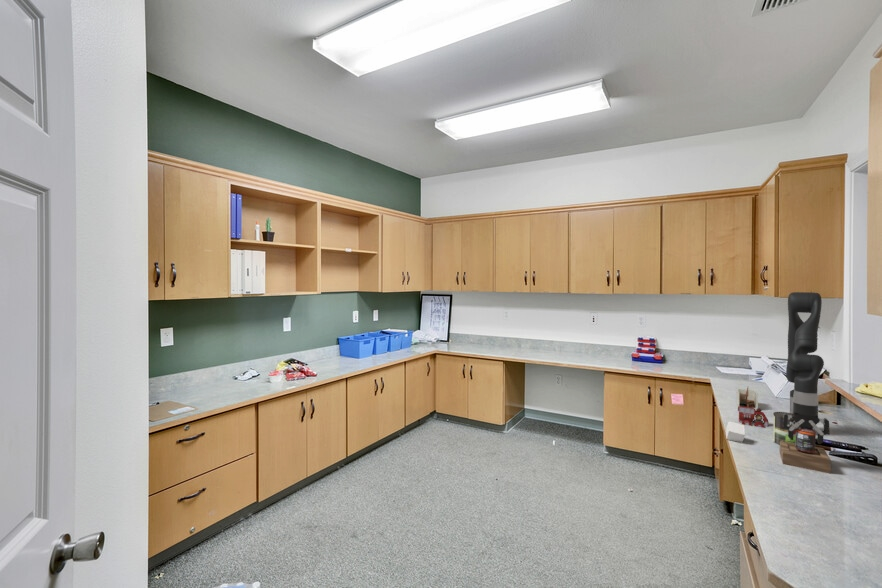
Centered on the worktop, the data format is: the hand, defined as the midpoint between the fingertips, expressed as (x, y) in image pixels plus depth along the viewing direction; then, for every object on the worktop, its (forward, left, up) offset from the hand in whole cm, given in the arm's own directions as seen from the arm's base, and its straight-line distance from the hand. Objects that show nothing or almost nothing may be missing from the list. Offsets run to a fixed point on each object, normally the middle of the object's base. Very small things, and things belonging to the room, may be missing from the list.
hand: (805, 441), depth 161 cm
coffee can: (-20, -2, -9) cm, 22 cm away
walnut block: (0, -1, -9) cm, 9 cm away
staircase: (-74, -11, -10) cm, 75 cm away
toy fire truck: (-42, -12, -9) cm, 45 cm away
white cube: (-13, -22, -9) cm, 27 cm away
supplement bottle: (0, 0, -4) cm, 4 cm away
